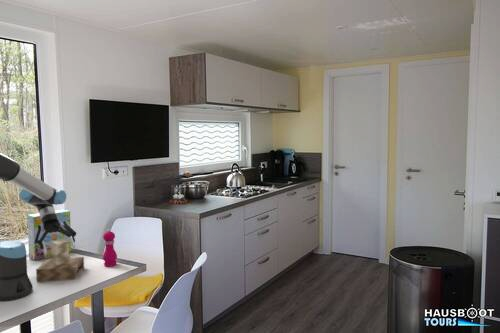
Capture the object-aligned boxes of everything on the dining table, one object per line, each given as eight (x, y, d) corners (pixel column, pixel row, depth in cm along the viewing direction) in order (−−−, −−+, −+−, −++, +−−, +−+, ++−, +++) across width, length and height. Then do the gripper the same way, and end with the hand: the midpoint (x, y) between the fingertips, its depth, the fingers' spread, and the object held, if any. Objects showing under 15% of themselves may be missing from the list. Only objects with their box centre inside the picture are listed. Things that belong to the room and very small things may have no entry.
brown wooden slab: (36, 281, 189) (36, 269, 189) (47, 270, 205) (47, 259, 205) (76, 278, 192) (75, 267, 192) (84, 268, 208) (83, 257, 208)
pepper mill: (105, 268, 207) (103, 231, 206) (101, 264, 213) (100, 228, 212) (118, 265, 211) (117, 229, 210) (115, 262, 217) (113, 226, 216)
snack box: (35, 261, 220) (32, 216, 218) (28, 258, 225) (25, 214, 223) (72, 251, 237) (70, 210, 235) (65, 249, 243) (63, 208, 241)
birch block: (56, 265, 194) (55, 244, 193) (52, 263, 198) (51, 241, 197) (69, 262, 198) (68, 241, 197) (64, 260, 203) (63, 239, 202)
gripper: (71, 217, 219) (83, 249, 210) (21, 225, 202) (32, 260, 193) (74, 209, 215) (86, 241, 206) (23, 216, 198) (34, 252, 188)
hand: (60, 250), depth 199 cm, fingers open, 13 cm apart
